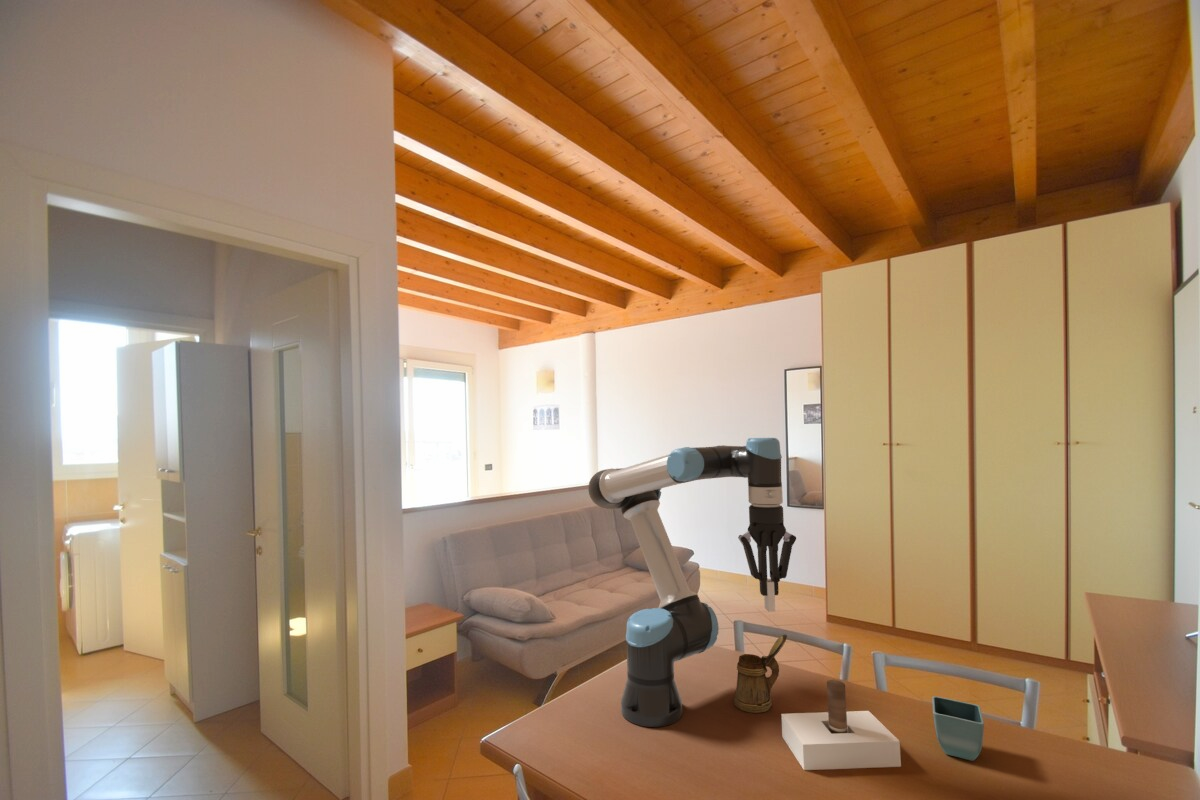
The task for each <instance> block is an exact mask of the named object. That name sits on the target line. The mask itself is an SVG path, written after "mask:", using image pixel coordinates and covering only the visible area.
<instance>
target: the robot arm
mask: <svg viewBox="0 0 1200 800" xmlns="http://www.w3.org/2000/svg"><path fill="white" fill-rule="evenodd" d="M780 443H781V442H780V440H779V439H778V438H776V437H749V438H747V440H746V444H745V445H743V446H740V445H715V446H713V445H712V446H702V447H690V446H684V447H681V448H675V449H674V450H672V451H671V452H670V453H669V454H666V455H662V456H659V457H656V458H653V459H650V460H647V461H646V460H645V461H643V462H640V463H637V464H634V465H630V466H627V467H623V468H607V469H602V470H599V471H597V472H596V473H594V475H592V477H591V478H590V480H589V483H588V487H587V489H588V490H587V491H588V495H589V497H590V500H592V502H593V503H594V504H595V505H596V506H598V507H600V508H602V509H605V510H612V509H613V510H614V509H620V512H621V514H622V517H623V518H624V519H626V520H628V521H630V523H631V526H632V529H633V531H634V534H635V536H636V540H637V541H638V544H639V547H640V550H641V552H642V555H643V557H644V558H643V559H644V560H645V563H646V566H647V568H648V571H649V574H650V576H651V580H652V583H653V584H654V587H655V591H656V592H657V594H658V595H657V596H658V599H659V600H660V602H659V605H658V607H652V608H644V609H641V610H638V611H636V612H634V613H633V614H631V615H630V616H629V618H628V619H627V622H626V631H625V640H626V663H627V665H626V667H627V672H626V673H627V674H626V675H627V679H626V682H625V687H624V689H623V693H622V697H621V701H620V708H621V709H620V710H621V715H622V716H623V717H624V719H625V720H627V721H628V722H630V723H632V724H635V725H637V726H641V727H648V728H660V727H664V726H665V727H666V726H668V725H672V724H674V723H676V722H678V721H679V720H680V719H681V717H682V716H683V702H682V697H681V695H680V692H679V689H678V685H677V684H676V683H677V682H676V680H675V665H674V664H675V662H678V661H681V660H683V659H686V658H688V657H692V656H694V655H698V654H701V653H704V652H705V651H706V650H709V649H711V648H712V647H713V646H714V645H715V643H716V642H717V640H718V635H719V628H720V627H719V622H718V621H719V620H718V617H717V615H716V613H715V610H714V609H713V607H711V606H710V605H709V604H707V603H705V602H701V600H700V597H699V594H698V593H696V592H695V591H693V590H691V589H690V587H689V584H688V583H687V580H686V577H685V574H684V572H683V570H682V568H681V567H682V566H681V565H680V563H679V560H678V558H677V556H676V552H675V549H674V548H673V546H672V543H671V540H670V538H669V536H668V533H667V531H666V528H665V525H664V523H663V521H662V518H661V516H660V513H659V510H658V509H659V508H660V505H661V501H660V498H661V496H662V491H661V490H662V489H663V488H667V487H668V488H669V487H671V486H677V485H680V484H685V483H689V482H694V481H700V480H707V479H708V480H710V479H719V478H744V479H745V478H746V479H747V486H748V487H747V488H748V490H747V492H748V494H747V495H748V503H749V504H750V505H749V506H748V513H749V515H748V517H749V524H748V525H749V526H748V528H747V531H746V532H744V533H743V534H739V535H738V540H739V541H740V543H741V545H742V547H743V550H744V554H745V557H746V561H747V564H748V568H749V571H750V575H751V576H752V577H753V578H754V579H756V580H759V593H760V594H761V595H762V596H763V597H764V599H763V600H764V602H763V603H764V609H765V610H766V611H768V613H769V612H770V613H772V612H773V613H774V612H776V599H775V596H778V595H779V582H780V581H781V580H782V579H786V578H787V575H788V570H789V564H790V560H791V554H792V550H793V545H794V544H795V542H796V540H797V537H796V536H795V535H793V534H792V533H790V532H788V531H787V528H786V527H785V524H784V507H783V506H782V504H783V501H784V500H783V485H782V484H783V483H782V457H783V456H782V453H781V444H780ZM751 538H752V540H753V541H754V542H755V543H756V549H757V563H758V564H757V563H756V558H755V554H754V551H753V548H752V545H751V542H752V540H751ZM782 539H783V542H782V548H781V553H780V558H779V553H778V552H779V543H780V542H781V540H782ZM767 551H768V557H767ZM767 558H768V559H767ZM767 560H768V561H769V562H768V561H767ZM768 564H769V577H770V578H768Z"/></svg>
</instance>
